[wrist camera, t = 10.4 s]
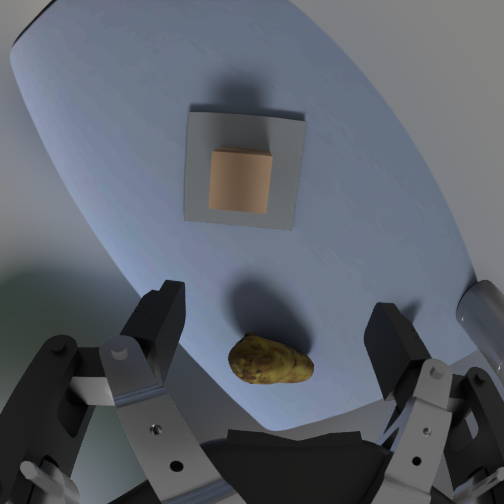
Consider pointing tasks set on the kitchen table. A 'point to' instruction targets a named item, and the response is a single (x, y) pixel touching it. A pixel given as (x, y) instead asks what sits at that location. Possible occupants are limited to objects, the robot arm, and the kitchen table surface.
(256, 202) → the block
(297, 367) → the potato
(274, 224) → the coaster
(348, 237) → the kitchen table surface
